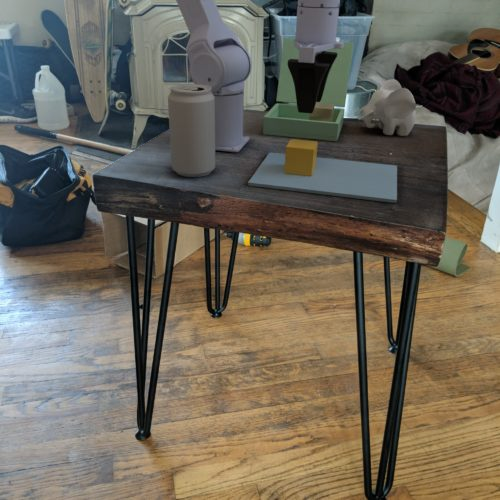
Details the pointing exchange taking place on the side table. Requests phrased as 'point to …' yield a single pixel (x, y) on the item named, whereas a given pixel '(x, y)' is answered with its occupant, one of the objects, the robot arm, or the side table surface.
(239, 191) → the side table surface
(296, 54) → the lunchbox lid
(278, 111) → the box
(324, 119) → the birch block
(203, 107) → the beverage can
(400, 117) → the elephant figurine
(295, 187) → the placemat
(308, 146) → the mustard block
